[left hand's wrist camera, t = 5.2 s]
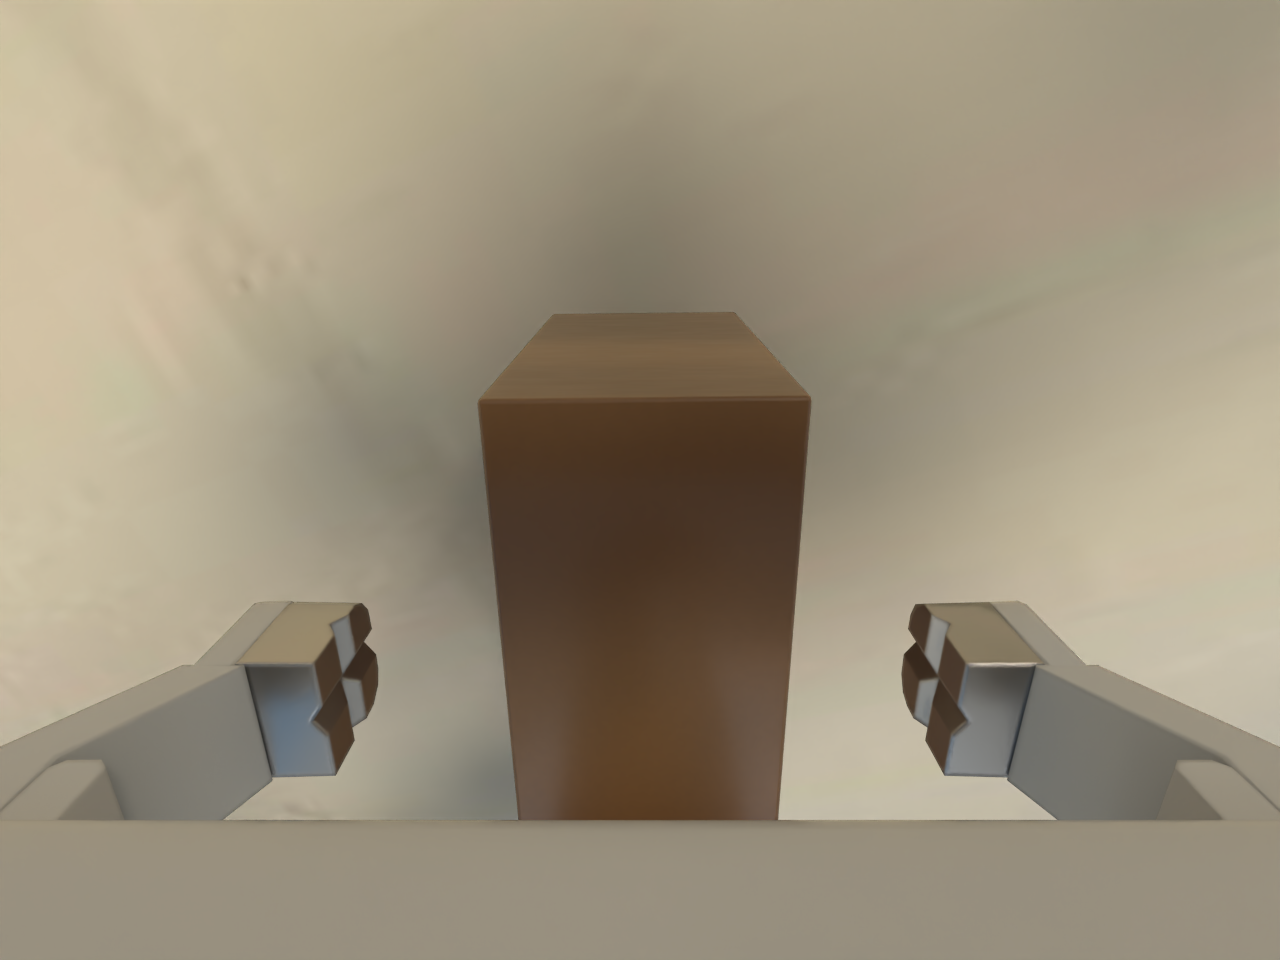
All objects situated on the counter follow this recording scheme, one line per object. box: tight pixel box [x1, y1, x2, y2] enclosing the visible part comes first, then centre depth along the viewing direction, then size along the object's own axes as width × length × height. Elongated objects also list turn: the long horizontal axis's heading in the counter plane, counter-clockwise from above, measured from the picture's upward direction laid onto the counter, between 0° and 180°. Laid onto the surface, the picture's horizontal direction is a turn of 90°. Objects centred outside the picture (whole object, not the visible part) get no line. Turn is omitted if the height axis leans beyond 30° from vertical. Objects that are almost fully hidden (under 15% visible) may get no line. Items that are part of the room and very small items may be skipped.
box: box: [478, 312, 812, 820], centre depth 22 cm, size 23×6×11 cm, turn 1°
